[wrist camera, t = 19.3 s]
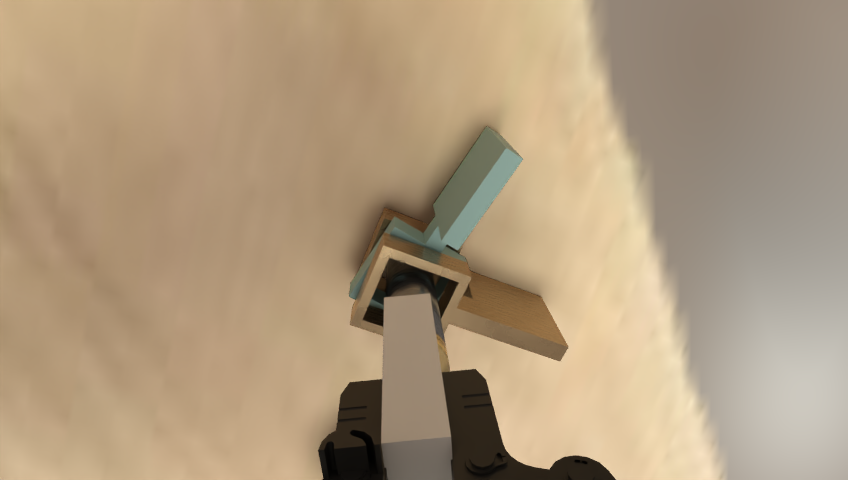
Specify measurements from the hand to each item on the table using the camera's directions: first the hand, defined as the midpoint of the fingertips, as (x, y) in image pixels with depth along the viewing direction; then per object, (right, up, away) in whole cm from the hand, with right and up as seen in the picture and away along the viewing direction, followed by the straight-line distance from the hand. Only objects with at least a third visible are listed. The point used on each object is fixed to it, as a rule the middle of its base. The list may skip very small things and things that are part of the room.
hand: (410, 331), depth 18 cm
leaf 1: (+1, +5, +21) cm, 22 cm away
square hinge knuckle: (+3, +1, +23) cm, 23 cm away
